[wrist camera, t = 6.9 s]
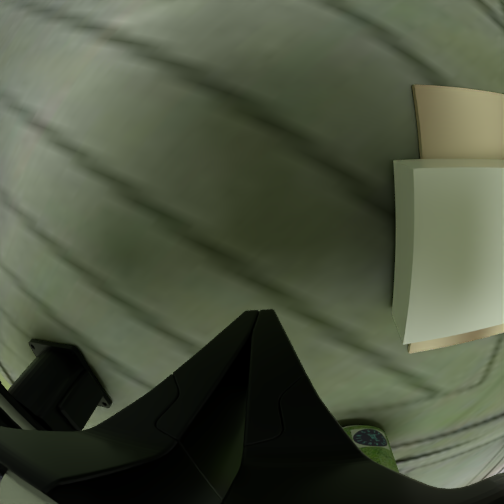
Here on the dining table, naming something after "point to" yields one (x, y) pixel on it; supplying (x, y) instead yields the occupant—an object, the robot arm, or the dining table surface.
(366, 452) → the beverage can
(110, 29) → the dining table surface
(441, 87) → the mat
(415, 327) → the tile
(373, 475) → the robot arm
